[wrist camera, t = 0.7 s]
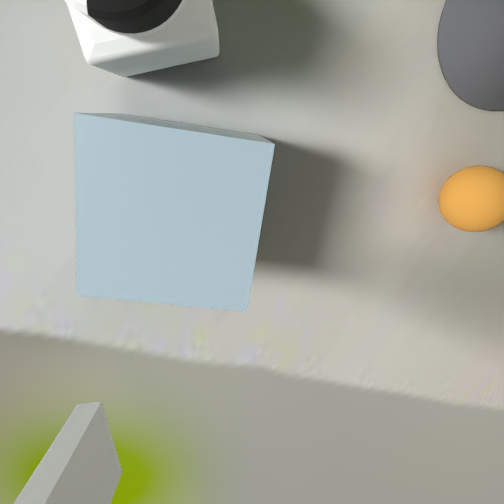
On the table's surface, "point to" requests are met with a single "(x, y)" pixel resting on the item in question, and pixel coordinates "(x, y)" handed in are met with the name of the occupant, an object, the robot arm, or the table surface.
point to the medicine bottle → (144, 33)
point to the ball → (473, 199)
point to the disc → (473, 51)
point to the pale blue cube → (167, 210)
